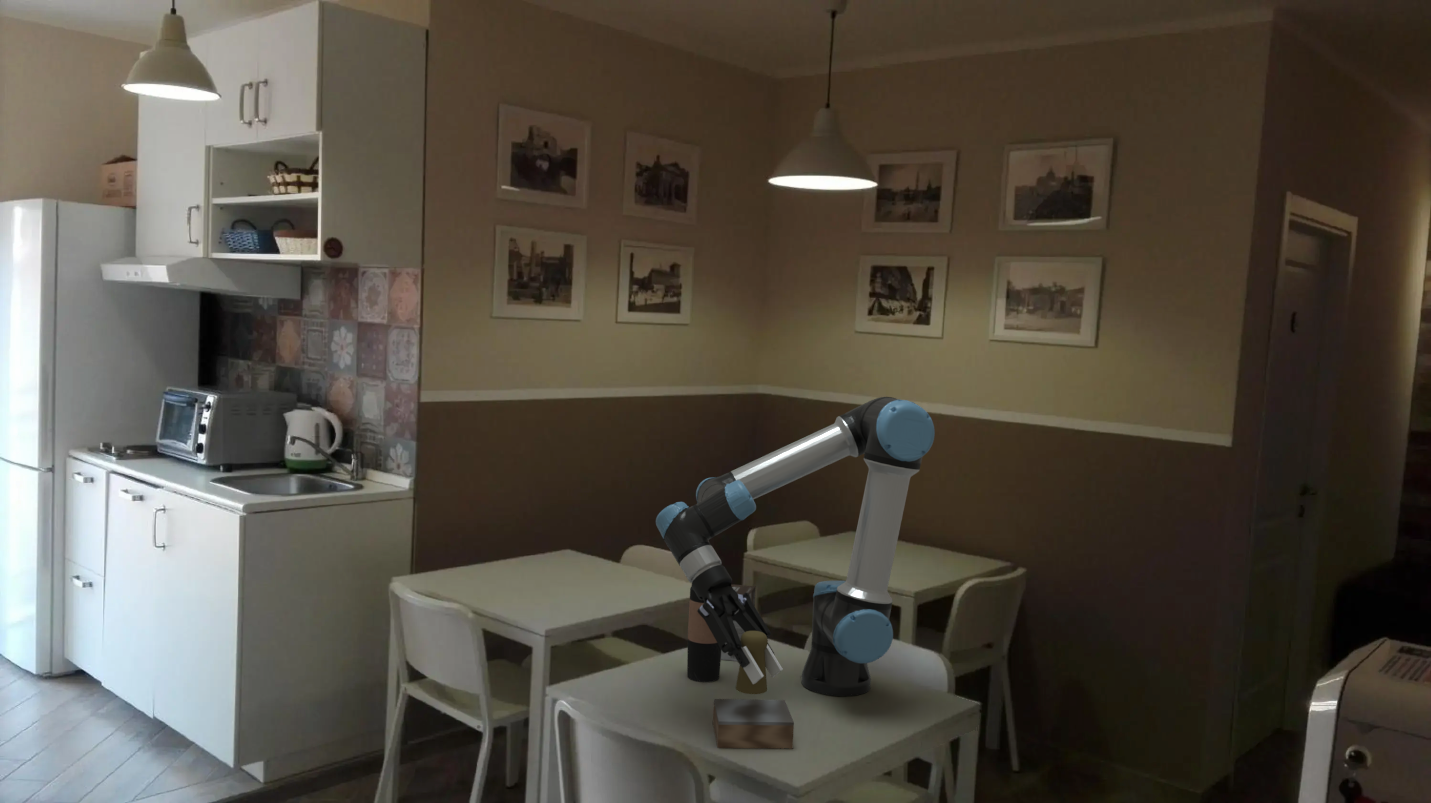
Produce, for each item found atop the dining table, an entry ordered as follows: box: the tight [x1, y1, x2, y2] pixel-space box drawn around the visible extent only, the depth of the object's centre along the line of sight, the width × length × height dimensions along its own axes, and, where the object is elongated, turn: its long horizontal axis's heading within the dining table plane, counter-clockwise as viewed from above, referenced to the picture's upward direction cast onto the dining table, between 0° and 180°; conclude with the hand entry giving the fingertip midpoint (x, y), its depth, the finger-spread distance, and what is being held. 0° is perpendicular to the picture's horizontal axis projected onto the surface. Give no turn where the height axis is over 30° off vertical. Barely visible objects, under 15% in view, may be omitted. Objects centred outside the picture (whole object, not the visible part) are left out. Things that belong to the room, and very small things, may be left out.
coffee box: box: [721, 583, 756, 662], centre depth 256 cm, size 9×6×16 cm
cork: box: [735, 631, 769, 695], centre depth 206 cm, size 6×6×11 cm
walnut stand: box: [712, 698, 795, 750], centre depth 207 cm, size 14×12×5 cm
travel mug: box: [686, 585, 722, 683], centre depth 239 cm, size 8×8×20 cm
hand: (767, 676), depth 203 cm, fingers closed on cork, 5 cm apart
